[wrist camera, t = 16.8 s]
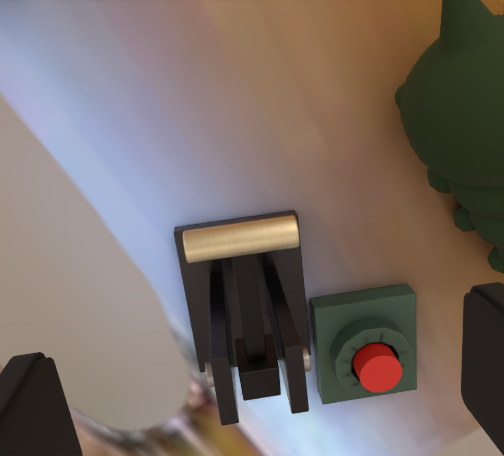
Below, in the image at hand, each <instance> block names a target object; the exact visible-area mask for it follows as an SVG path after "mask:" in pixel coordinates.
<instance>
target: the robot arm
mask: <svg viewBox="0 0 504 456" xmlns="http://www.w3.org/2000/svg"><path fill="white" fill-rule="evenodd" d="M461 394H462V398H463V401H464V403H465V405H466V407H467V408H468V410H469V411H470V412H471V414H472V415H473V416H474V418H475V419H476V420H477V421H478V423H479V424H480V425H481V427H482V428H483V429H484V431H485V432H486V433H487V434H488V436H489V437H490V438H491V440H492V441H493V442H494V444H495V445H496V446H497V448H498V449H499V450H500V452H501V453H502V454H503V455H504V284H502V283H500V282H495V283H489V284H482V285H476V286H473V287H472V288H471V290H470V293H467V294H465V296H464V308H463V341H462V374H461ZM0 456H83V455H82V450H81V447H80V444H79V440H78V437H77V434H76V431H75V427H74V424H73V421H72V418H71V414H70V411H69V408H68V405H67V401H66V398H65V395H64V392H63V389H62V385H61V382H60V379H59V375H58V372H57V369H56V366H55V363H54V360H53V359H52V358H50V357H49V358H46V357H45V355H44V354H43V353H41V352H38V353H32V354H25V355H18V356H14V357H12V358H11V359H10V360H9V362H8V363H7V365H6V366H5V368H4V369H3V371H2V372H1V374H0Z"/></svg>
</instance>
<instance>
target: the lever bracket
mask: <svg viewBox="0 0 504 456" xmlns="http://www.w3.org/2000/svg"><path fill="white" fill-rule="evenodd" d="M291 215H293V216H295V218H296V221H297V225H298V231H299V224H298V215H297V213H296V212H295V210H292V211H285V212H278V213H271V214H264V215H257V216H250V217H243V218H236V219H229V220H222V221H215V222H208V223H201V224H194V225H187V226H180V227H175V230H174V237H175V242H176V247H177V253H178V258H179V263H180V268H181V274H182V279H183V284H184V290H185V295H186V300H187V306H188V311H189V316H190V322H191V327H192V332H193V338H194V343H195V348H196V353H197V359H198V364H199V369H200V372H205V373H206V380H207V385H208V387H215V392H216V397H217V403H218V409H219V414H220V420H221V425H228V424H234V423H239V416H238V404H237V393H236V381H235V369H234V367H238V362H237V354H236V345H235V339H237V338H244V336H243V330H242V323H241V317H240V310H239V303H238V297H237V290H236V284H235V277H234V271H233V264H232V258H231V257H227V258H220V259H213V260H206V261H199V262H193V263H188V262H187V260H186V256H185V251H184V244H183V232H184V231H187V230H194V229H201V228H208V227H215V226H222V225H229V224H236V223H243V222H250V221H257V220H264V219H271V218H277V217H284V216H291ZM256 261H257V270H258V279H259V289H260V298H261V308H262V317H263V327H264V334H270V333H272V336H273V341H274V346H275V351H276V356H277V360H279V363H280V367H281V371H282V375H283V379H284V383H285V387H286V392H287V396H288V400H289V404H290V408H291V412H292V414H294V413H301V412H307V411H309V406H308V396H307V386H306V376H305V372H309V371H311V364H310V357H309V355H311V352H310V341H309V330H308V320H307V309H306V299H305V288H304V277H303V267H302V256H301V246H300V235H299V246H298V247H295V248H288V249H281V250H274V251H268V252H261V253H256Z"/></svg>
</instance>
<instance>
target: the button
mask: <svg viewBox="0 0 504 456" xmlns="http://www.w3.org/2000/svg"><path fill="white" fill-rule="evenodd" d="M353 365H354V369H355V371H356V373H357V375H358V377H359V380H360V382H361V384H362V385H363V386H364V387H365V388H366V389H367V390H369V391H372V392H384V391H387V390H390V389H391V388H393V387H394V386H395V385H396V384H397V383H398V382H399V380H400V378H401V376H402V367H401V364H400V363H399V361H398V360H397V358H396V357H395V355H394V353H393V352H392V350H391V349H390V348H389V347H388V346H386V345H384V344H381V343H372V344H368V345H366V346H364V347H362V348H361V349H360V350H359V351H358V352H357V354H356V355H355V357H354V362H353Z"/></svg>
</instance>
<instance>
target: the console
mask: <svg viewBox="0 0 504 456" xmlns="http://www.w3.org/2000/svg"><path fill="white" fill-rule="evenodd" d="M310 307H311V318H312V329H313V340H314V351H315V362H316V373H317V384H318V392H319V395H320V398H321V401H322V404H329V403H335V402H341V401H347V400H354V399H360V398H366V397H373V396H379V395H385V394H391V393H397V392H403V391H409V390H415V389H417V358H416V293H415V292H414V291H413V290H412V289H411V287H410V286H409V285H408V284H401V285H395V286H388V287H381V288H375V289H368V290H362V291H355V292H348V293H342V294H335V295H329V296H322V297H316V298H310ZM372 343H381V344H384V345H386V346H388V347H389V348H390V349H391V350H392V352H393V353H394V355H395V357H396V358H397V360H398V361H399V363H400V364H401V367H402V376H401V378H400V380H399V382H398V383H397V384H396V385H395V386H394V387H393V388H391V389H390V390H387V391H384V392H372V391H369V390H367V389H366V388H365V387H364V386H363V385H362V384H361V382H360V380H359V377H358V375H357V373H356V371H355V369H354V365H353V362H354V357H355V355H356V354H357V352H358V351H359V350H360V349H361V348H362V347H364V346H366V345H368V344H372Z"/></svg>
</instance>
